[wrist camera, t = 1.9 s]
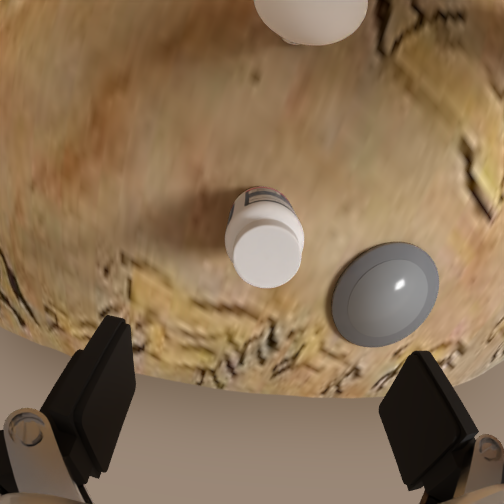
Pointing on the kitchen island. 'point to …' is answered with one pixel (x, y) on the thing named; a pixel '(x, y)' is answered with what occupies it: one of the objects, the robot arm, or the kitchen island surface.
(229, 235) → the pill bottle
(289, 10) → the light bulb
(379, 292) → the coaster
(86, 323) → the kitchen island surface
